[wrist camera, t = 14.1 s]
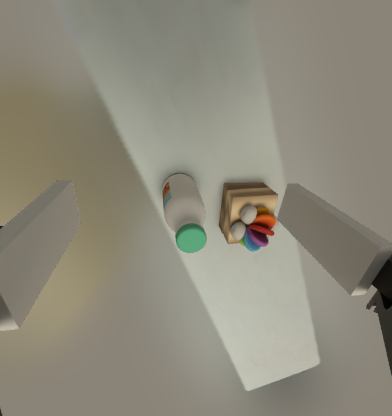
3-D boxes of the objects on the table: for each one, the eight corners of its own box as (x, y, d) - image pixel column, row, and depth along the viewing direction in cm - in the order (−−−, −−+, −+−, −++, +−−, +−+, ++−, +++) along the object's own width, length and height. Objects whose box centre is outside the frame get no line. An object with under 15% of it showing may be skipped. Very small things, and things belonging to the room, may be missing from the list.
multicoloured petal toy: (277, 209, 46) (296, 228, 40) (254, 243, 50) (268, 264, 43) (246, 197, 43) (261, 214, 37) (224, 233, 47) (234, 255, 41)
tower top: (227, 189, 46) (232, 197, 43) (269, 187, 48) (278, 194, 44) (223, 234, 52) (228, 244, 48) (260, 230, 53) (268, 240, 50)
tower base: (223, 182, 50) (228, 189, 46) (262, 182, 51) (270, 188, 48) (218, 224, 55) (222, 233, 52) (253, 223, 57) (259, 231, 53)
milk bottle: (175, 165, 45) (186, 210, 28) (202, 184, 48) (227, 234, 31) (155, 192, 48) (155, 249, 30) (182, 208, 51) (196, 268, 33)
